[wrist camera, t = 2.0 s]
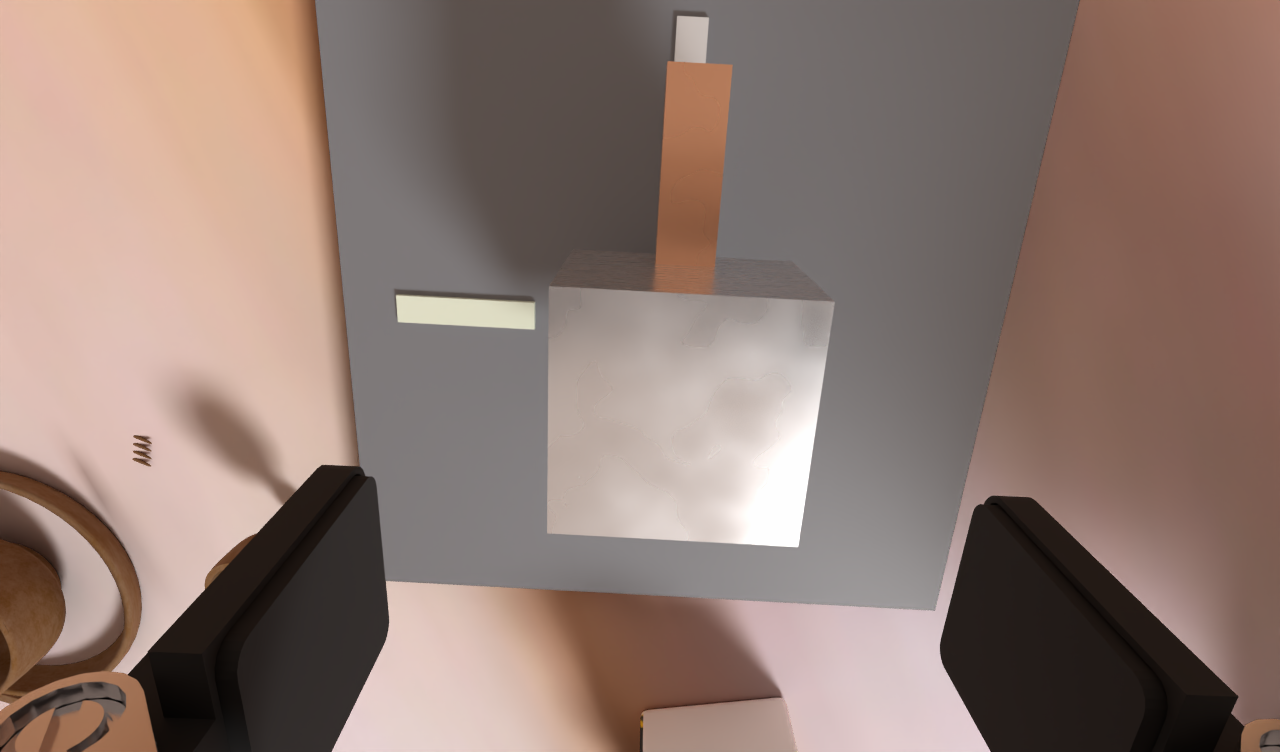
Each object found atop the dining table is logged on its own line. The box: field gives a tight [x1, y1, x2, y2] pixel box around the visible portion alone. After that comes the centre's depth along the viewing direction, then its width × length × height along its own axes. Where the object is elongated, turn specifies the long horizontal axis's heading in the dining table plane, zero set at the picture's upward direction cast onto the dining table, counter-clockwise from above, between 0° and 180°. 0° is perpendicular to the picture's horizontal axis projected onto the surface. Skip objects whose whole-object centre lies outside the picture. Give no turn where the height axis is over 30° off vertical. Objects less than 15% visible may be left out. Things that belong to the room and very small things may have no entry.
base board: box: [315, 0, 1080, 611], centre depth 26 cm, size 24×24×2 cm
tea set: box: [0, 435, 256, 704], centre depth 30 cm, size 18×20×6 cm
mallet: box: [547, 61, 835, 547], centre depth 18 cm, size 6×11×5 cm, turn 177°
